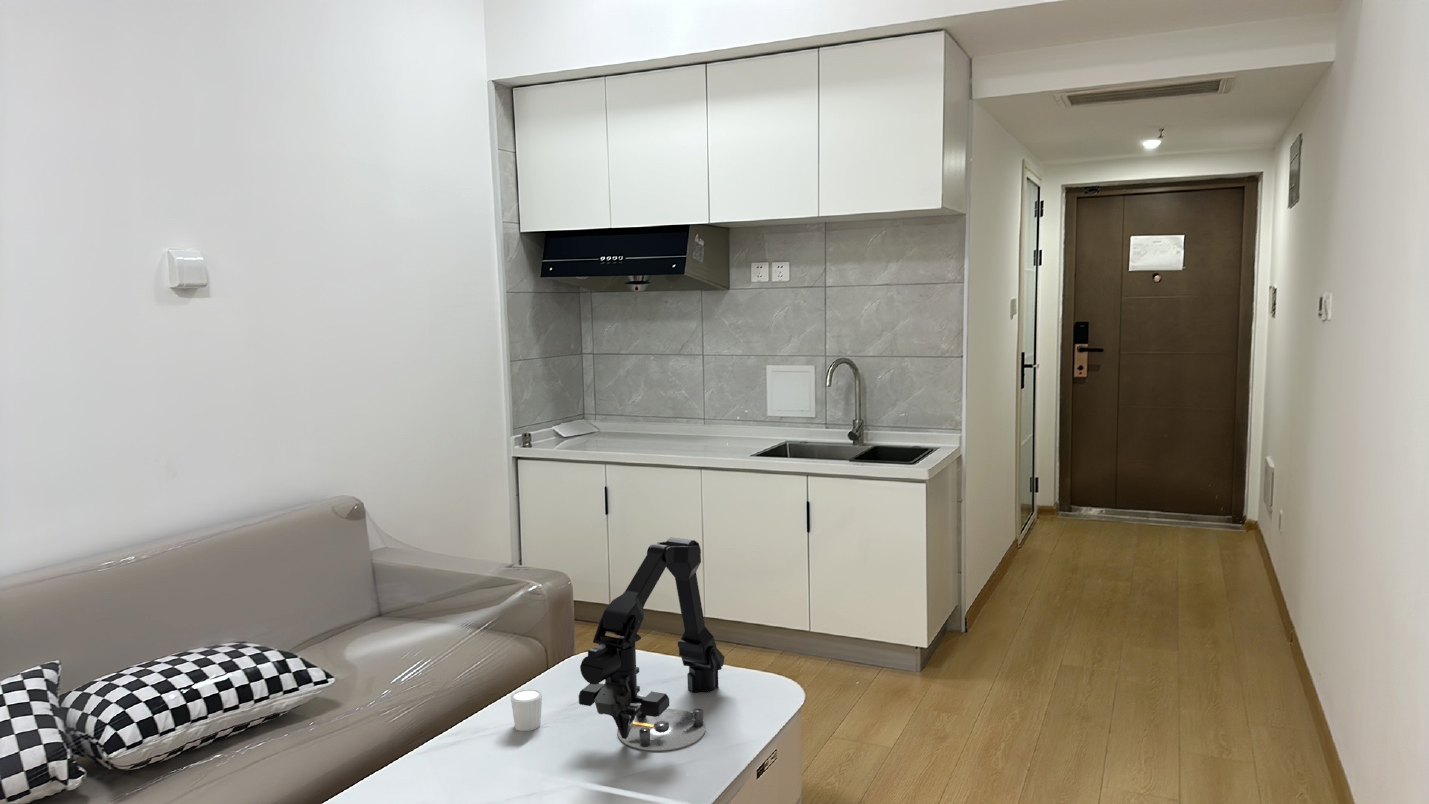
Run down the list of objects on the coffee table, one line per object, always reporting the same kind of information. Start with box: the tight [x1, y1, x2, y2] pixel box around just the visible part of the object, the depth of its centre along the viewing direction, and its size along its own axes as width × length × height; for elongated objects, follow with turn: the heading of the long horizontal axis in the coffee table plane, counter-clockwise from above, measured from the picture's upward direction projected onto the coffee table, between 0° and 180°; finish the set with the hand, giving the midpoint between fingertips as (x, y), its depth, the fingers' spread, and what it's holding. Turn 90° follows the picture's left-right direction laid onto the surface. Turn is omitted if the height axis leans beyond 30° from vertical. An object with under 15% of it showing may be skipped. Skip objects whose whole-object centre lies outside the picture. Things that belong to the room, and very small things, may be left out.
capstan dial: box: [617, 708, 707, 752], centre depth 203 cm, size 19×19×4 cm
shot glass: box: [510, 688, 543, 732], centre depth 208 cm, size 7×7×7 cm
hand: (625, 737), depth 197 cm, fingers closed
